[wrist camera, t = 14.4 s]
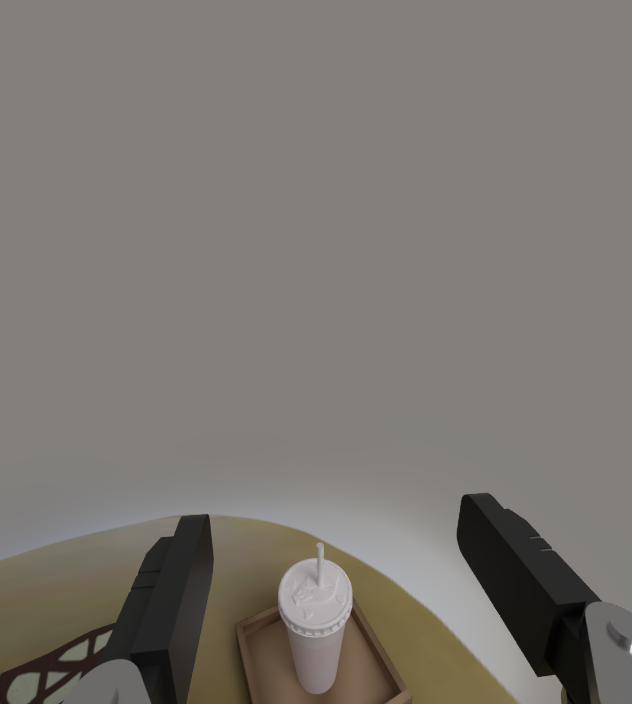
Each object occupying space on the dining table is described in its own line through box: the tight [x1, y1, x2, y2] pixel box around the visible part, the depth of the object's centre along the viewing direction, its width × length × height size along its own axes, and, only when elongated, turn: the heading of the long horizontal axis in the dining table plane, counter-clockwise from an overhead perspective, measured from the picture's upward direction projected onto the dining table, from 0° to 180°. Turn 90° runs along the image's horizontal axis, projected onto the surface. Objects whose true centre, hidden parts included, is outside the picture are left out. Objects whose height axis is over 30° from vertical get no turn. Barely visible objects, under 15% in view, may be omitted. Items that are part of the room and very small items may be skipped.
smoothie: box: [278, 543, 352, 694], centre depth 29 cm, size 6×6×14 cm
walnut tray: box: [235, 596, 412, 704], centre depth 31 cm, size 12×12×2 cm
